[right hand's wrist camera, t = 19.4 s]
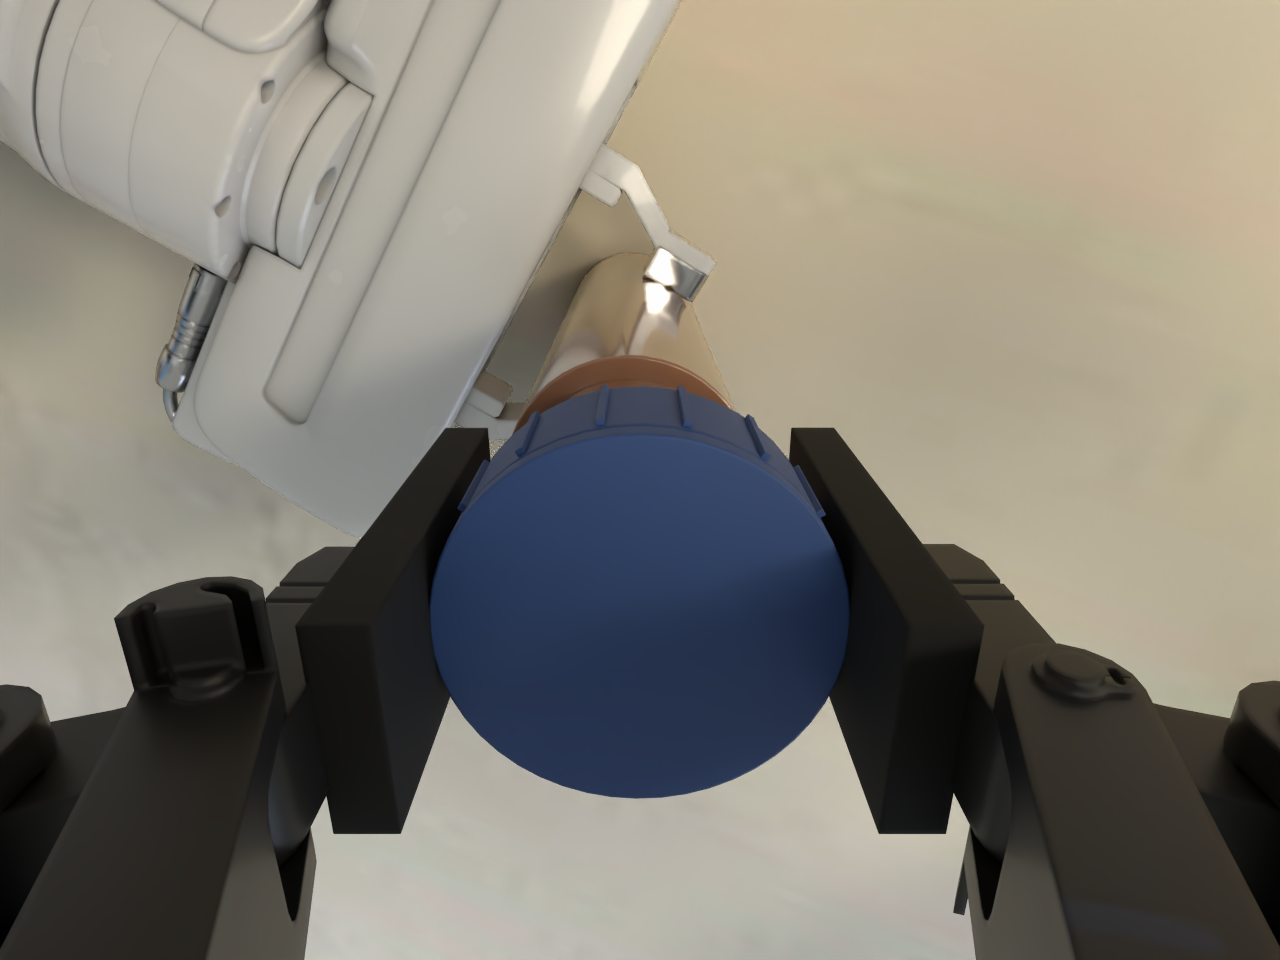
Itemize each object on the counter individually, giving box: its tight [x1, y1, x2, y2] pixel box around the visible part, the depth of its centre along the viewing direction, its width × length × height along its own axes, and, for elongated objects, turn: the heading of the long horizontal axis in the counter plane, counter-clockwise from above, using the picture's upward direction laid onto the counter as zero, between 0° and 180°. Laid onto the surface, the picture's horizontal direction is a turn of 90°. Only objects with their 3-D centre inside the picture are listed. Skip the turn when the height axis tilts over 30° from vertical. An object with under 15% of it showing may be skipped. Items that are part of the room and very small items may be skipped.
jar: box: [512, 253, 736, 435], centre depth 22 cm, size 5×5×20 cm
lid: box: [429, 385, 850, 798], centre depth 11 cm, size 6×6×2 cm
